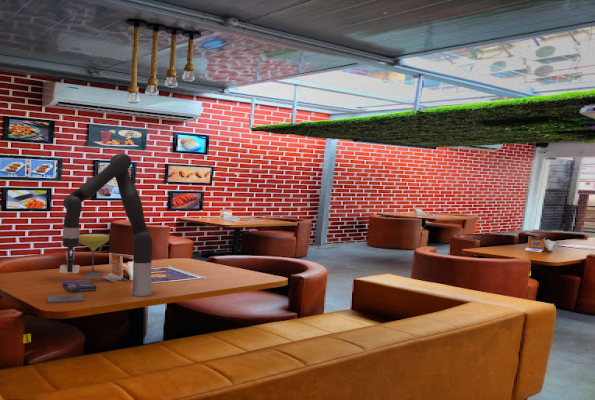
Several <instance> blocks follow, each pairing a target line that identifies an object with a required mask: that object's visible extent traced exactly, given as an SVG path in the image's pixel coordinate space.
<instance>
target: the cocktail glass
mask: <svg viewBox="0 0 595 400" xmlns="http://www.w3.org/2000/svg"><path fill="white" fill-rule="evenodd" d="M109 240H110V234H109V233H106V232H105V233H104V232H82V233H79V244H81V245H84V246H86V247H88V248H89V249H90V251H92V259H91V261H92V262H91V263H92V264H91V272H88V273H83V277H88V278H89V277H91V278H92V277H94V278H95V277H100V276H102V275H103V273H102V272H101V273H100V272H95V269H94V267H95V266H94V261H95V260H94V255H95V252H94V251H96V250H97V249H98V248H99V247H101V246H103V245H105V244H107V243H108V242H109Z"/></svg>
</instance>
